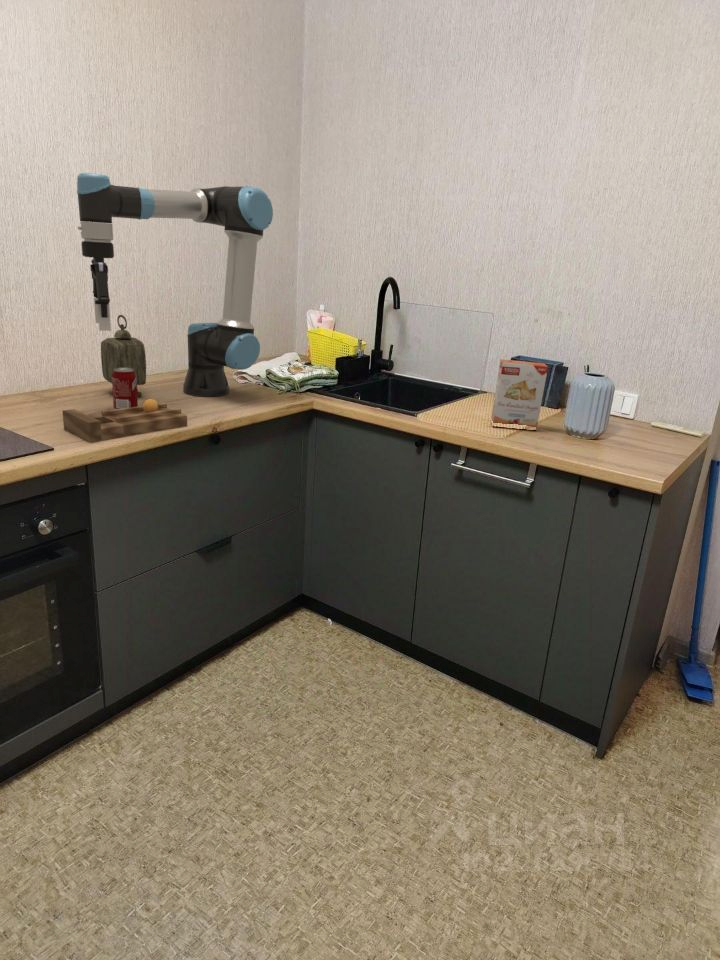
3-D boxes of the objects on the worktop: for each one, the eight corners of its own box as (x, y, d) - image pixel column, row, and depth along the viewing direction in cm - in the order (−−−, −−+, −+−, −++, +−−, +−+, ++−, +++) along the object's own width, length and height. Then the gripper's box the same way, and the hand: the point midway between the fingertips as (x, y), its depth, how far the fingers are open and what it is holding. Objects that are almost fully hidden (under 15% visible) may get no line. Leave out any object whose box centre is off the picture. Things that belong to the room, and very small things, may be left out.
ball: (153, 410, 182) (152, 396, 181) (161, 413, 180) (160, 399, 178) (140, 412, 179) (139, 398, 178) (148, 415, 177) (147, 401, 175)
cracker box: (492, 428, 205) (502, 361, 198) (490, 423, 210) (499, 358, 203) (537, 432, 204) (548, 365, 197) (533, 427, 210) (544, 362, 203)
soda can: (130, 413, 188) (128, 372, 184) (109, 410, 190) (106, 369, 186) (142, 408, 195) (140, 368, 191) (121, 405, 196) (119, 366, 192)
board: (159, 414, 190) (159, 398, 188) (187, 425, 181) (187, 408, 179) (64, 429, 170) (62, 410, 168) (90, 442, 161) (88, 422, 159)
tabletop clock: (147, 398, 207) (144, 318, 198) (119, 401, 201) (114, 318, 193) (129, 389, 217) (125, 312, 208) (102, 391, 211) (97, 312, 203)
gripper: (78, 238, 173) (85, 319, 181) (83, 241, 152) (90, 333, 160) (108, 240, 176) (113, 320, 184) (117, 243, 155) (122, 333, 163)
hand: (103, 326), depth 172 cm, fingers open, 13 cm apart
